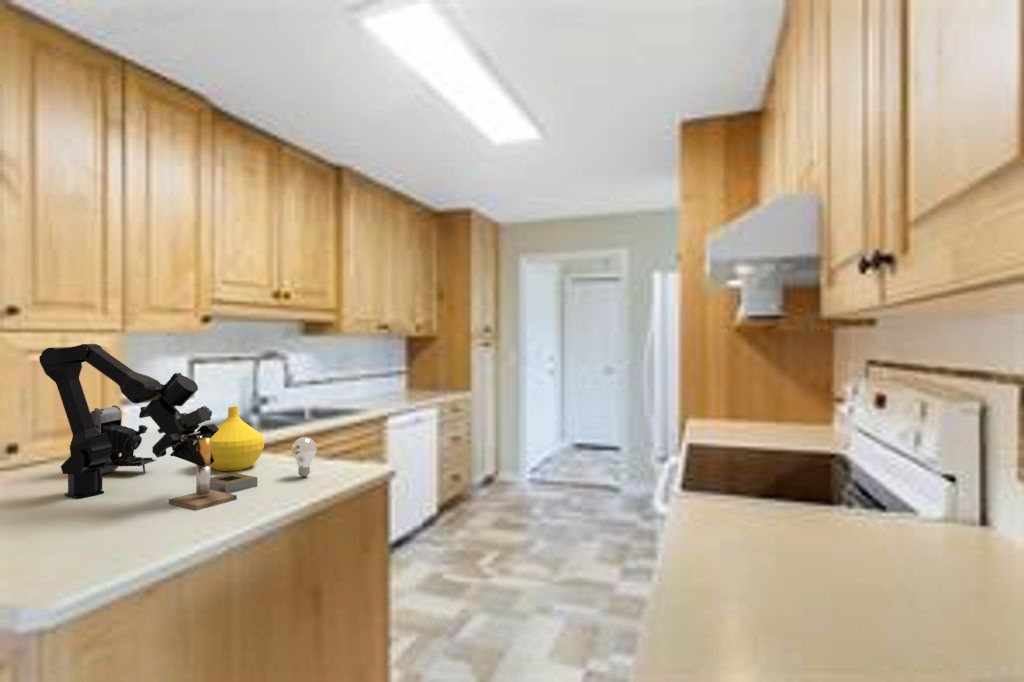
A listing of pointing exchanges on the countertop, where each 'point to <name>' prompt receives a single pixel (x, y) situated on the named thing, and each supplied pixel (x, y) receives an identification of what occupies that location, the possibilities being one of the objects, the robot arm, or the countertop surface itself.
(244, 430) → the vase
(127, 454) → the vintage camera
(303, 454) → the light bulb
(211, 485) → the chuck block
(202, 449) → the orange and silver cylinder
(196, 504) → the walnut pad
